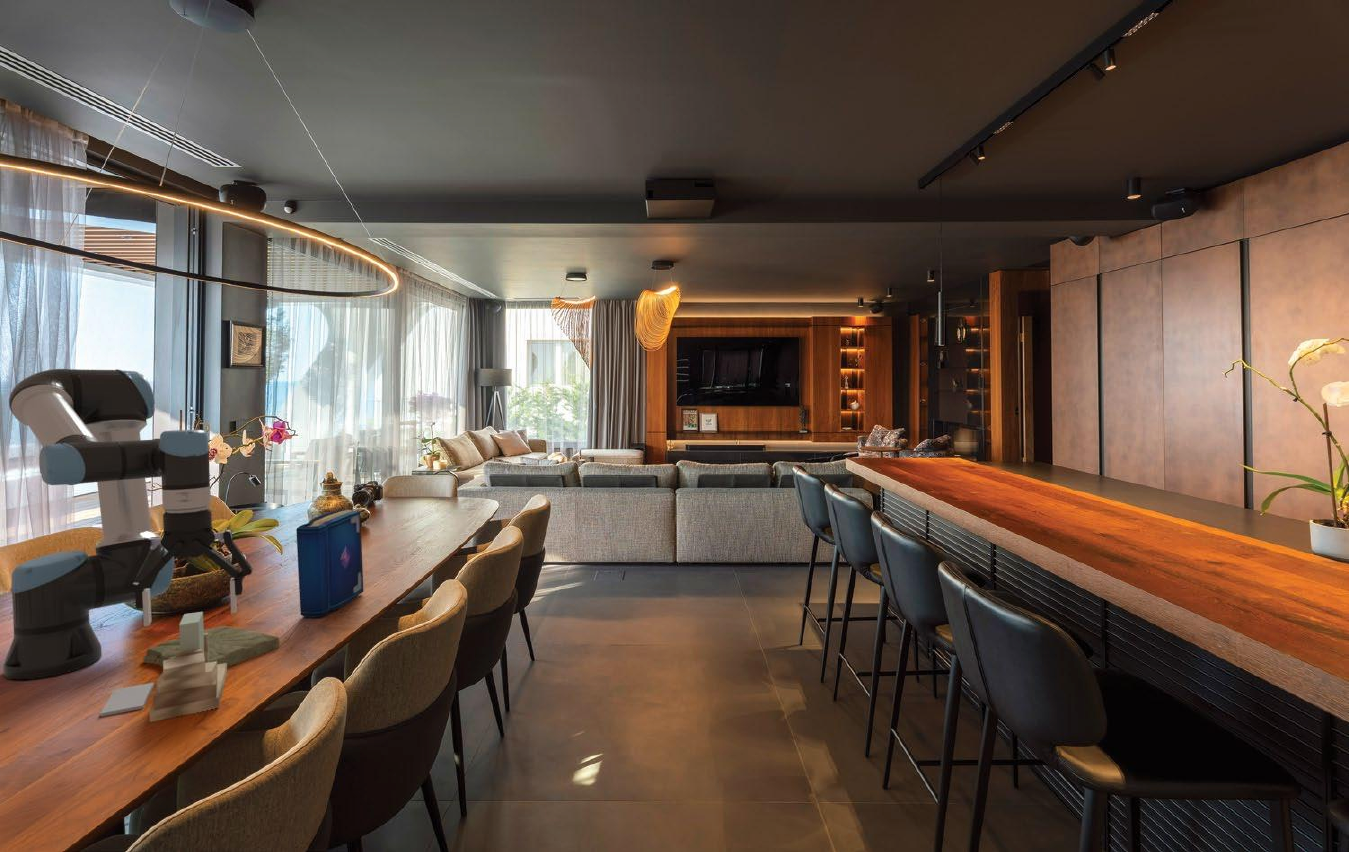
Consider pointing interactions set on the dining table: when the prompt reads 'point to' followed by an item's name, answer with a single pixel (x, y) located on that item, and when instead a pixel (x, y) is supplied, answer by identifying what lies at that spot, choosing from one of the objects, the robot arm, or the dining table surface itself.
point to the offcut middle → (189, 679)
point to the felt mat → (127, 699)
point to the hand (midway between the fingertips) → (192, 617)
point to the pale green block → (191, 632)
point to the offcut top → (183, 666)
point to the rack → (198, 705)
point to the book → (329, 562)
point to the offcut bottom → (184, 696)
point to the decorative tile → (220, 646)
